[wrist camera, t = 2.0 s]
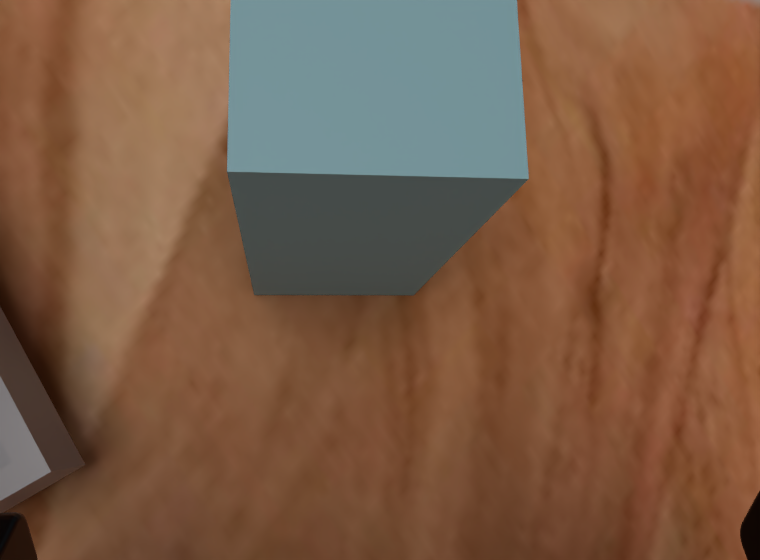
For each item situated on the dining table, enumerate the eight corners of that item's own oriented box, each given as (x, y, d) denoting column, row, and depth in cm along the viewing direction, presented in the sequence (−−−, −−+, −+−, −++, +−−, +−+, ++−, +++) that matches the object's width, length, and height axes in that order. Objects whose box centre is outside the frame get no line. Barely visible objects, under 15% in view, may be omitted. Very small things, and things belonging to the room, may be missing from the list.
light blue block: (413, 295, 23) (528, 178, 12) (254, 295, 22) (226, 171, 11) (408, 147, 24) (511, -82, 13) (256, 142, 23) (233, -102, 12)
